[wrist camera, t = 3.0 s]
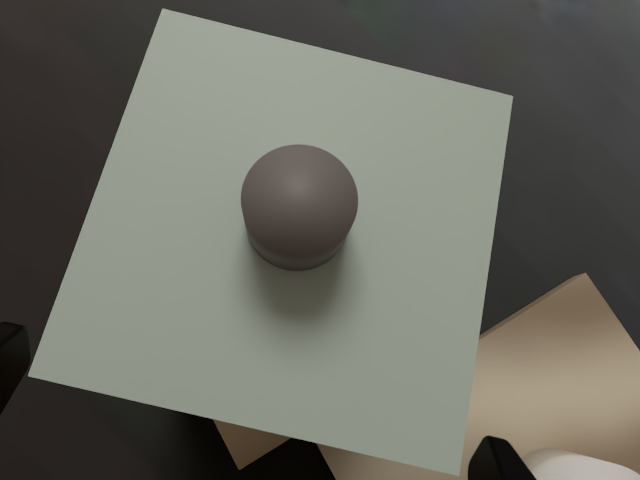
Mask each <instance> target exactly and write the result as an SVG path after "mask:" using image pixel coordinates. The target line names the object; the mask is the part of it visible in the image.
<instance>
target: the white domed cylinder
mask: <svg viewBox="0 0 640 480" xmlns="http://www.w3.org/2000/svg"><path fill="white" fill-rule="evenodd" d="M521 459H522V460H523V461H524V463H525V464H526V466H527V467H528V468H529V470H530V471H531V472H532V474H533V475H534V477H535V478H536V479H537V480H640V475H639V474H638V473H636V472H635V471H633V470H631V469H629V468H627V467H624V466H621V465H618V464H615V463H611V462H607V461H603V460H600V459H596V458H592V457H589V456H585V455H581V454H577V453H574V452H570V451H566V450H562V449H557V448H543V449H539V450H535V451H533V452H530V453H529V454H527V455H525V456H524V457H522V458H521Z"/></svg>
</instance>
